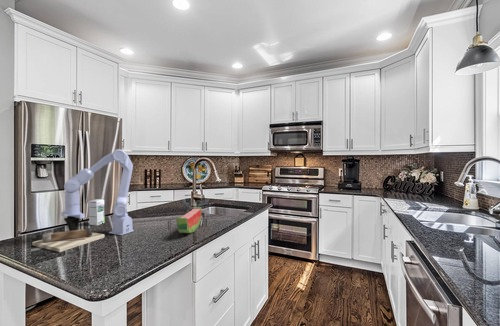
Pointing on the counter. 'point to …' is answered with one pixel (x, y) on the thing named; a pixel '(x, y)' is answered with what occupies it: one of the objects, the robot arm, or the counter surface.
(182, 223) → the fruit slice
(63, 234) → the lever
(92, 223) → the syrup box
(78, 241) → the board
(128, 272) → the counter surface
